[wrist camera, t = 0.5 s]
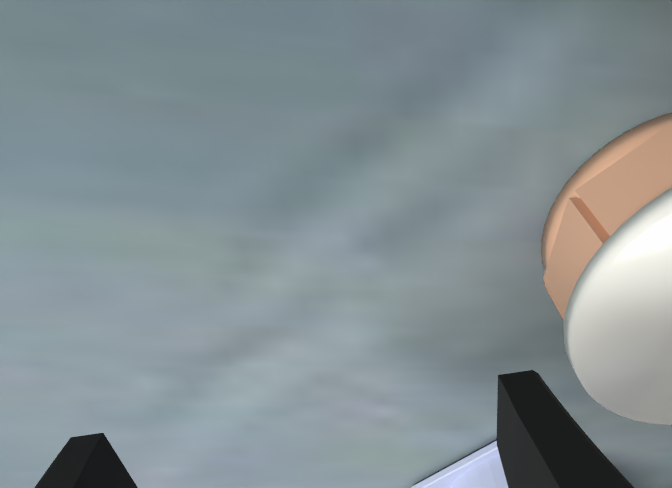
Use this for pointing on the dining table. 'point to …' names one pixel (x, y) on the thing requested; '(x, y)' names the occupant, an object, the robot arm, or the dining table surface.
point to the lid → (627, 318)
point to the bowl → (603, 201)
